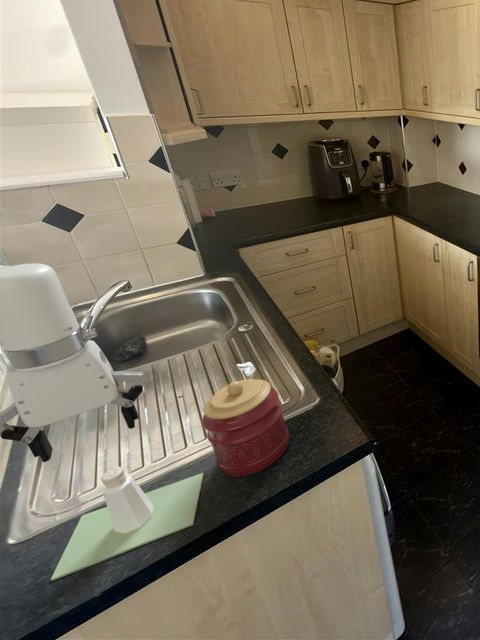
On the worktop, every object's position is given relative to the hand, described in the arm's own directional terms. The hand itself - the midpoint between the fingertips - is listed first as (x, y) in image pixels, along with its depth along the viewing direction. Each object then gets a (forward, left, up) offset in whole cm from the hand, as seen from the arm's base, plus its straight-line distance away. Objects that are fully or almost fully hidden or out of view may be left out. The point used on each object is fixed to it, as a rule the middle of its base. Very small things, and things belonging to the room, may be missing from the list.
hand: (92, 439), depth 65 cm
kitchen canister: (+18, +7, -19) cm, 27 cm away
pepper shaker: (0, 0, -19) cm, 19 cm away
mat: (0, 0, -19) cm, 19 cm away
